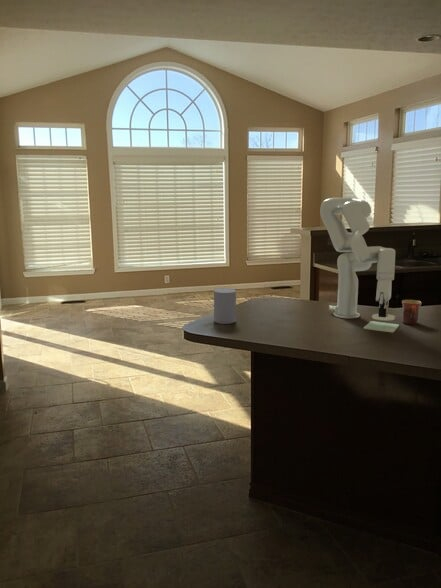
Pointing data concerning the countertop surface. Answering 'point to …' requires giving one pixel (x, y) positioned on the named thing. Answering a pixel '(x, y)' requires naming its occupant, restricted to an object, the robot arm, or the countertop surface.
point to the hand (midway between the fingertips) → (383, 315)
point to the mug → (410, 311)
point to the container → (224, 306)
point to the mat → (381, 326)
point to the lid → (387, 318)
